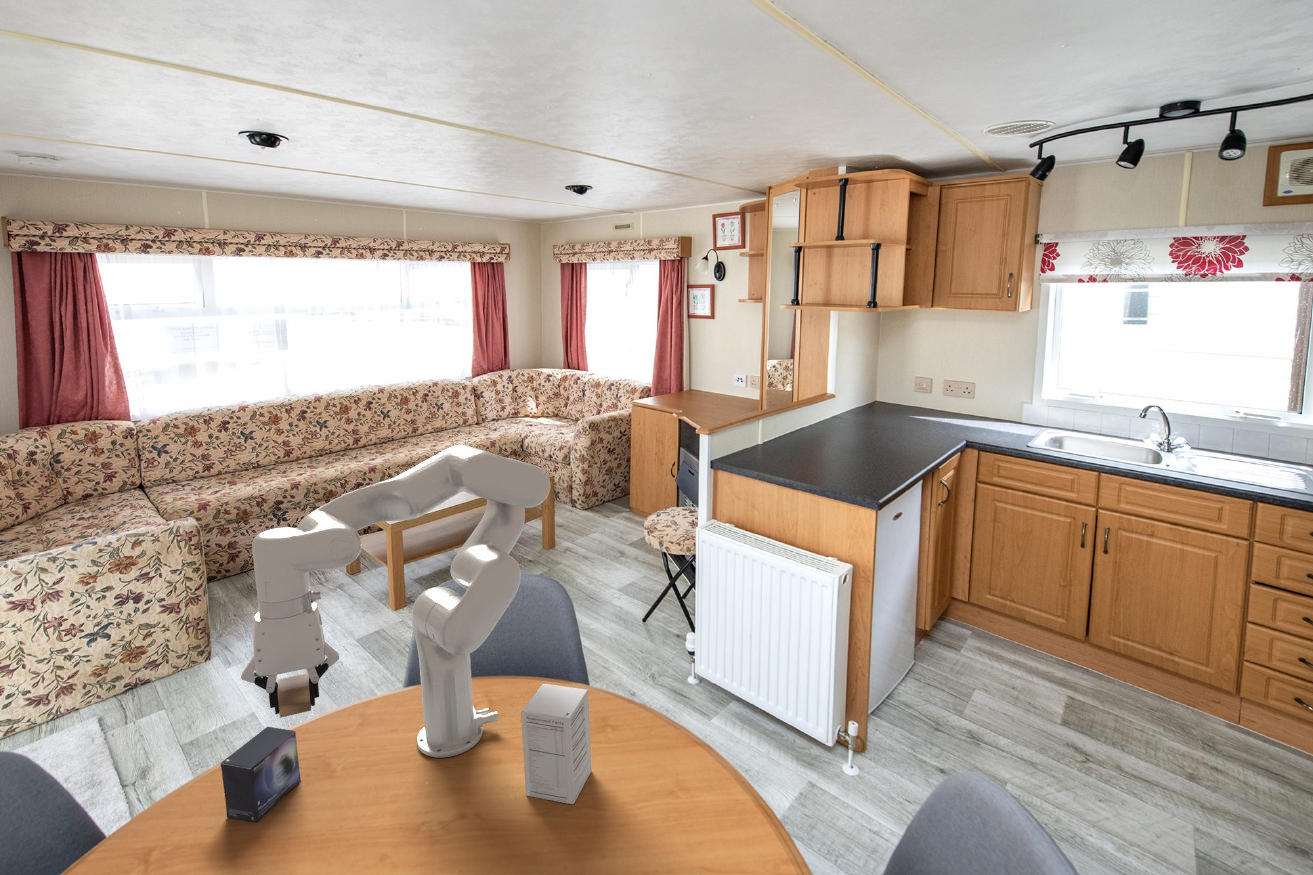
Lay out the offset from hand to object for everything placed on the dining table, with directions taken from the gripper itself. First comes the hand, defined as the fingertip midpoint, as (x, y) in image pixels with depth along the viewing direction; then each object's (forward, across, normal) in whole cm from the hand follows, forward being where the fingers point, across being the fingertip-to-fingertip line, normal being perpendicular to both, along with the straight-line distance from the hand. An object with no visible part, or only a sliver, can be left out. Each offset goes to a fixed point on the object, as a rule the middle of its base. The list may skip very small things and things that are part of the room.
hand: (295, 704), depth 109 cm
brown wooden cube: (0, 0, 0) cm, 0 cm away
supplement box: (+19, -41, +15) cm, 48 cm away
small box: (+20, +6, -6) cm, 22 cm away
